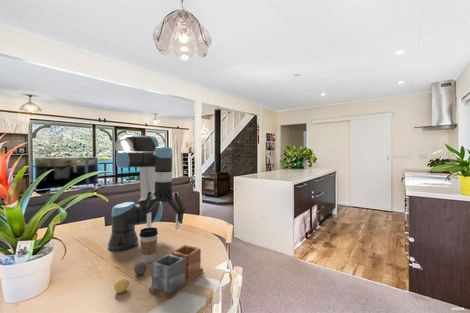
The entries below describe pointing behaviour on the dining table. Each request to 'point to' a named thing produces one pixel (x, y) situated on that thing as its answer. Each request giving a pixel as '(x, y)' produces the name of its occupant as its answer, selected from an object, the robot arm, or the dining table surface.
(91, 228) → the dining table surface
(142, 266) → the charcoal ball
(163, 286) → the desk organizer
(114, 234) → the robot arm
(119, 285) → the ochre ball
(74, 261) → the dining table surface
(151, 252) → the coffee cup
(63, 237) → the dining table surface
